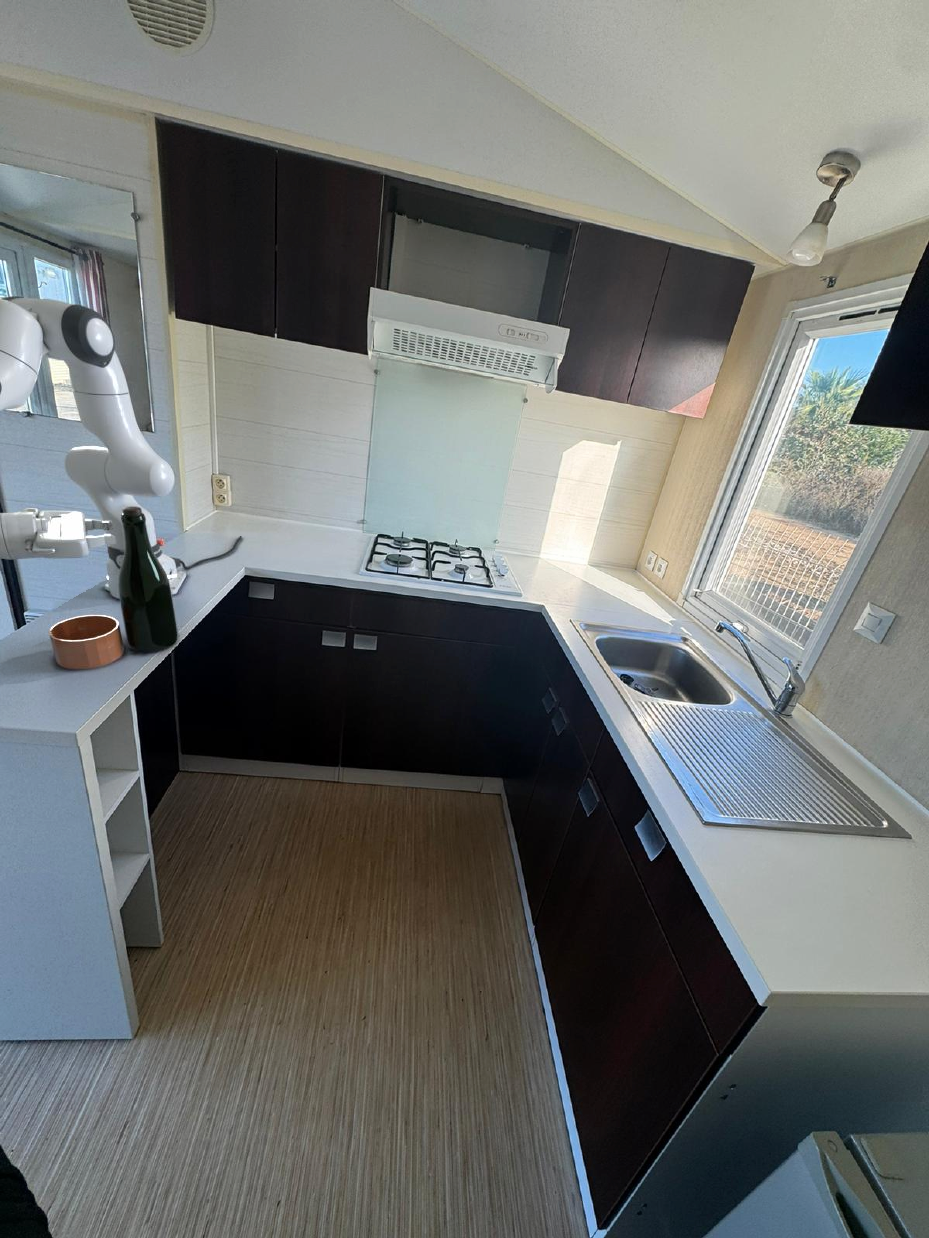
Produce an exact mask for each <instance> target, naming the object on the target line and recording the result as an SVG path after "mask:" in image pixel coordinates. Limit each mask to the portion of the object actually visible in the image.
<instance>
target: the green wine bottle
mask: <svg viewBox="0 0 929 1238" xmlns="http://www.w3.org/2000/svg"><path fill="white" fill-rule="evenodd" d="M121 521H122V524H123V530H124V538H125V552H124V558H123V561H122V565H121V568H120V572H119V576H118V589H119V598H120V599H119V604H120V610H121V615H122V616H121V617H122V622H123V628H124V633H125V639H126V643H127V646H128V647H129V649H130V650H133V651H136V652H141V653H157V652H160V651H164V650H165V651H166V650H167V649H170V648H172V647H173V646H175V644H177V642H178V640H179V629H178V623H177V617H176V612H175V610H176V609H175V605H174V598H173V595H172V592H171V588H170V583H169V579H168V577H167V574H166V572H165V570H164V568H163V567H162V565H161V564H160V562H159V561H158V559H157V557H156V556H155V554H154V552H153V550H152V548H151V544H150V541H149V537H148V533H147V527H146V517H145V515H144V514H143V513H142V510H141V508H139V507H124V508H123V513H122V514H121Z"/></svg>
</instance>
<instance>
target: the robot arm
mask: <svg viewBox="0 0 929 1238" xmlns="http://www.w3.org/2000/svg"><path fill="white" fill-rule="evenodd" d="M115 349H116V340H115V335H114V332H113V329H112V328H111V326H110V324H109V323H108V322H107V320H106V319H105V317H104V316H103V315H102V314H101V313H100V312H98V311H96V310H94V309H92V308H89V307H87V306H84V305H81V304H77V303H76V304H73V303H69V302H66V301H62V300H56V299H52V298H51V299H50V298H33V297H22V296H19V295H18V296H17V295H16V296H15V295H12V296H5V297H2V298H0V412H1V411H4V410H14V409H18V408H20V407H22V406H24V405H25V403H26V402H27V401H28V399H29V398H30V396H31V394H32V392H33V390H34V388H35V385H36V382H37V379H38V375H39V371H40V367H41V363H42V357H43V358H47V359H51V360H57V361H63V362H64V363H65V365H66V367H67V371H68V377H69V382H70V386H71V390H72V393H73V397H74V402H75V406H76V409H77V412H78V416H79V419H80V422H81V424H82V426H83V427H84V428H85V430H87V431H88V432H90V433H91V434H93V436H95V437H97V438H98V440H99V441H100V442H102V444H103V445H104V446H105V447H102V446H96V445H91V446H90V445H89V446H87V445H86V446H77V447H73V448H71V449H70V450H69V451H68V452H67V454H66V455H65V459H64V469H65V473H66V474H67V476H68V477H69V479H70V480H71V482H73V483H74V484H76V485H78V486H79V488H81V489H82V490H83V491H84V492H85V493H86V494H87V495H88V497H89V498H90V499H91V501H92V502H93V503H94V505H95V507H96V509H97V510H98V512H99V514H100V516H101V518H102V520H101V519H94V518H86V515H85V513H84V512H81V511H76V510H41V511H39V508H35V507H30V508H29V507H27V508H24V509H22V510H20V511H14V512H0V559H4V560H25V559H40V558H41V559H53V560H54V559H81V558H85V557H88V556H90V551H89V549H96V548H100V547H103V546H107V547H106V549H107V550H106V551H107V554H108V558H109V559H108V560H107V561H106V579H107V583H105V584H104V589H105V590H106V591H108V592H109V593H110V595H111V597H113V598H115V599H118V600H120V598H119V589H118V576H119V572H120V568H121V565H122V561H123V558H124V552H125V538H124V530H123V524H122V521H121V514H122V513H123V508H124V507H139V508H141V510H142V513H143V514H144V515H145V517H146V527H147V533H148V537H149V541H150V544H151V548H152V550H153V552H154V554H155V556H156V557H157V559H158V561H159V562H160V564H161V565H162V567H163V568H164V570H165V572H166V574H167V577H168V579H169V583H170V588H171V592H172V596H173V595H176V594H177V593H178V591H179V590H180V588H181V586H182V584H183V582H184V581H185V579H186V577H187V574H186V572H184V571H181V570H179V569H178V568H179V567H181V566H182V568H183V569H185V570H189V569H193V568H195V567H196V566H198V565H200V564H202V563H205V562H208V561H212V560H217V559H220V558H222V557H225V556H227V555H229V554H231V553H232V552H234V550H235V549H236V547H237V545H238V544H239V542H240V540H241V539H242V538H243V536H242V535H240V536H239V537H238V539H236V541H235V542H234V544H233V546H232V548H231V549H229V550H228V551H226V552H223V553H222V554H220V555H216V556H212V557H207V558H204V559H200V560H198V561H196V562H195V563H193V564H191V565H190V566H186V564H185V562H184V561H183V560H182V559H181V558H179V557H178V558H177V557H173V556H168V555H167V554H165V553H164V552H163V551H162V548H161V547H164V546H165V540H164V539H162V538H160V539H159V538H157V536H156V535H157V534H156V528H155V523H154V518H153V515H152V514H151V512H149V510H147V509H146V508H145V507H143V506H141V505H140V504H139V503H138V502H137V500H136V499H135V498H134V497H139V498H163V497H166V496H167V495H169V494H170V493H171V491H172V490H173V488H174V486H175V479H176V478H175V473H174V471H173V468H172V466H171V465H170V464H169V462H167V461H166V460H165V459H163V458H162V457H161V456H160V455H159V454H158V453H156V451H155V450H154V449H153V448H152V447H151V446H150V443H149V442H148V441H147V440H146V438H145V436H144V435H143V434H142V431H141V429H140V427H139V425H138V422H137V419H136V415H135V411H134V408H133V403H132V400H131V394H130V390H129V386H128V383H127V379H126V375H125V372H124V370H123V367H122V364H121V361H120V359H119V357H118V354H117V352H116V350H115ZM94 530H103V531H105V533H104V534H103V535H96V536H95V535H89V534H88V531H94Z"/></svg>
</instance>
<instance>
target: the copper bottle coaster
mask: <svg viewBox="0 0 929 1238" xmlns="http://www.w3.org/2000/svg"><path fill="white" fill-rule="evenodd" d="M48 635H49V639H50V644H51V646H52V650H53V654H54V657H55V661H56V664H57V665H58V666H60V667H62V668H65V669H67V670H76V671H77V670H90V669H96V668H99V667H104V666H106V665H109V664H112V663H114V662H115V661H117V660H119V659H120V658H121V657H122V656H123V655H124V652H125V646H124V641H123V635H122V631H121V626H120V623H119V621H118V619H116V618H115V617H113V616H109V615H103V614H102V615H101V614H89V615H86V614H85V615H80V616H74V617H71V618H67V619H64V620H62V621H59V622H56V623H55V624H54V625H53V626H51V627H50V628H49V630H48Z"/></svg>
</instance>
